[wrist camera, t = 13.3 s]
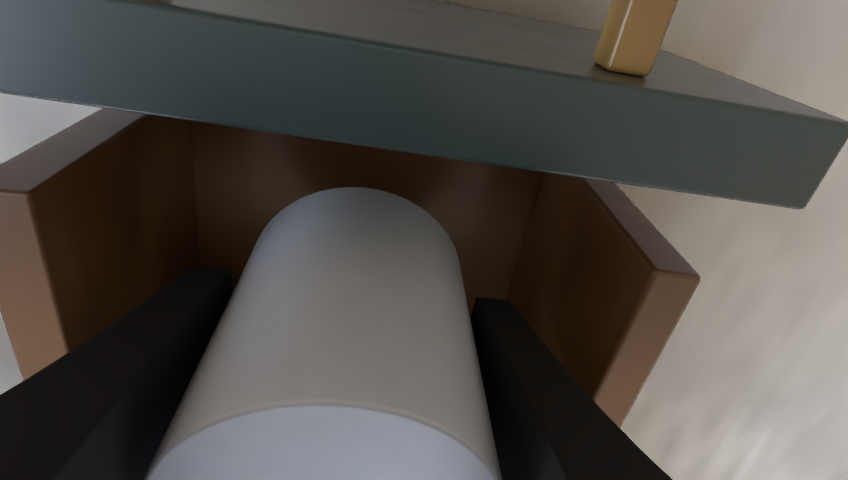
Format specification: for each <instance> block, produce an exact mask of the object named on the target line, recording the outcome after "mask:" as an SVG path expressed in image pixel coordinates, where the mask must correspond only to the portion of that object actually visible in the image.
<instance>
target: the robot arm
mask: <svg viewBox="0 0 848 480" xmlns="http://www.w3.org/2000/svg"><path fill="white" fill-rule="evenodd" d="M231 294H232V269H223V268H214V267H205V266H196V265H194V266H193V267H191V268H190V269H188V270H187V271H185V272H184V273H182V274H181V275H180V276H178V277H177V278H175V279H174V280H173V281H171V282H170V283H168V284H167V285H165V286H164V287H163V288H161V289H160V290H159V291H157V292H156V293H154V294H153V295H152V296H150V297H149V298H147V299H146V300H145V301H143V302H142V303H140V304H139V305H138V306H136V307H135V308H133V309H132V310H131V311H129V312H128V313H126V314H125V315H124V316H122V317H121V318H119V319H118V320H116V321H115V322H113V323H112V324H111V325H109V326H108V327H106V328H105V329H103V330H102V331H100V332H99V333H98V334H96V335H95V336H93V337H92V338H90V339H89V340H87V341H86V342H84V343H83V344H81V345H80V346H78V347H77V348H75V349H73V350H72V351H70V352H69V353H67V354H65V355H64V356H62V357H61V358H59V359H58V360H56V361H54V362H53V363H51V364H50V365H48V366H46V367H45V368H43V369H42V370H40V371H39V372H37V373H35V374H34V375H32V376H31V377H29V378H28V379H26V380H24V381H23V382H21V383H20V384H18V385H16V386H15V387H13V388H11V389H10V390H8V391H6V392H5V393H3V394H1V395H0V480H144V478H145V475H146V473H147V471H148V468H149V466H150V464H151V462H152V460H153V458H154V456H155V454H156V452H157V450H158V448H159V445H160V443H161V441H162V439H163V437H164V435H165V433H166V431H167V429H168V427H169V424H170V422H171V420H172V418H173V416H174V414H175V412H176V410H177V408H178V406H179V403H180V401H181V399H182V397H183V395H184V393H185V391H186V389H187V387H188V385H189V383H190V380H191V378H192V376H193V374H194V372H195V370H196V368H197V366H198V364H199V362H200V359H201V357H202V355H203V353H204V351H205V349H206V347H207V345H208V343H209V341H210V338H211V336H212V334H213V332H214V330H215V328H216V326H217V324H218V322H219V320H220V318H221V315H222V313H223V311H224V309H225V307H226V305H227V303H228V301H229V299H230V297H231ZM470 319H471V324H472V329H473V334H474V339H475V344H476V349H477V354H478V359H479V365H480V370H481V375H482V380H483V385H484V390H485V395H486V400H487V405H488V410H489V415H490V420H491V425H492V431H493V436H494V441H495V446H496V451H497V456H498V461H499V466H500V471H501V476H502V480H672V479H671V478H670V477H669V476H668V475H667V474H666V473H665V472H664V471H663V470H661V469H660V468H659V467H658V466H657V465H656V464H655V463H654V462H653V461H652V460H651V459H650V458H649V457H648V456H647V455H646V454H645V453H644V452H643V451H642V450H641V449H639V448H638V447H637V446H636V445H635V444H634V443H633V442H632V441H631V440H630V438H629V437H628V436H627V435H626V434H625V433H624V432H623V431H622V430H621V429H620V428H619V427H618V426H617V425H616V424H615V423H614V422H613V421H612V420H611V419H610V418H609V417H608V416H607V414H606V413H605V412H604V411H603V410H602V409H601V408H600V407H599V406H598V405H597V404H596V403H595V402H594V400H593V399H592V398H591V397H590V396H589V395H588V394H587V393H586V392H585V390H584V389H583V388H582V387H581V386H580V385H579V384H578V383H577V381H576V380H575V379H574V378H573V377H572V376H571V374H570V373H569V372H568V371H567V370H566V369H565V367H564V366H563V365H562V364H561V363H560V361H559V360H558V359H557V358H556V357H555V356H554V354H553V353H552V352H551V351H550V349H549V348H548V347H547V346H546V345H545V343H544V342H543V341H542V340H541V338H540V337H539V336H538V335H537V334H536V332H535V331H534V330H533V329H532V327H531V326H530V325H529V324H528V322H527V321H526V320H525V319H524V317H523V316H522V315H521V314H520V313H519V311H518V310H517V309H516V308H515V307H514V305H513V304H512V303H511V302H510V301H509V300H502V299H493V298H484V297H476V299H475V303H474V307H473V310H472V314H471V317H470Z"/></svg>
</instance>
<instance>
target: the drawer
mask: <svg viewBox="0 0 848 480" xmlns="http://www.w3.org/2000/svg"><path fill="white" fill-rule="evenodd" d="M677 2H678V0H612V2H611V5H610V9H609V12H608V15H607V18H606V21H605V24H604V27H603V30H602V32H600V31H595V30H589V29H584V28H578V27H573V26H568V25H562V24H557V23H551V22H546V21H541V20H535V19H530V18H525V17H519V16H514V15H508V14H503V13H498V12H492V11H487V10H481V9H476V8H471V7H465V6H460V5H454V4H449V3H444V2H438V1H433V0H0V93H5V94H12V95H18V96H25V97H32V98H39V99H46V100H53V101H60V102H66V103H73V104H80V105H87V106H94V107H101V108H102V109H101V110H99V111H97V112H95V113H93V114H91V115H90V116H88V117H86V118H84V119H82V120H81V121H79V122H77V123H75V124H73V125H71V126H70V127H68V128H66V129H64V130H62V131H60V132H59V133H57V134H55V135H53V136H51V137H49V138H48V139H46V140H44V141H42V142H40V143H39V144H37V145H35V146H33V147H31V148H29V149H28V150H26V151H24V152H22V153H20V154H18V155H17V156H15V157H13V158H11V159H9V160H7V161H6V162H4V163H2V164H0V310H1V313H2V317H3V320H4V323H5V326H6V329H7V332H8V335H9V338H10V341H11V345H12V348H13V351H14V354H15V357H16V360H17V363H18V366H19V370H20V373H21V376H22V379H23V381H24V380H26V379H28V378H29V377H31V376H32V375H34V374H35V373H37V372H39V371H40V370H42V369H43V368H45V367H46V366H48V365H50V364H51V363H53V362H54V361H56V360H58V359H59V358H61V357H62V356H64V355H65V354H67V353H69V352H70V351H72V350H73V349H75V348H77V347H78V346H80V345H81V344H83V343H84V342H86V341H87V340H89V339H90V338H92V337H93V336H95V335H96V334H98V333H99V332H100V331H102V330H103V329H105V328H106V327H108V326H109V325H111V324H112V323H113V322H115V321H116V320H118V319H119V318H121V317H122V316H124V315H125V314H126V313H128V312H129V311H131V310H132V309H133V308H135V307H136V306H138V305H139V304H140V303H142V302H143V301H145V300H146V299H147V298H149V297H150V296H152V295H153V294H154V293H156V292H157V291H159V290H160V289H161V288H163V287H164V286H165V285H167V284H168V283H170V282H171V281H173V280H174V279H175V278H177V277H178V276H180V275H181V274H182V273H184V272H185V271H187V270H188V269H190V268H191V267H193V266H194V265H196V266H205V267H214V268H223V269H232V292H233V290H234V288H235V286H236V284H237V282H238V280H239V278H240V276H241V274H242V271H243V269H244V267H245V265H246V263H247V261H248V259H249V257H250V255H251V253H252V250H253V248H254V246H255V244H256V242H257V240H258V238H259V236H260V235H261V233H262V231H263V229H264V228H265V227H266V226H267V224H268V223H269V222H270V221H271V219H272V218H274V217H275V216H276V215H277V214H278V213H279V212H280V211H281V210H283V209H284V208H285V207H287V206H288V205H290V204H291V203H293V202H295V201H297V200H299V199H301V198H303V197H305V196H308V195H310V194H313V193H316V192H319V191H324V190H329V189H334V188H344V187H361V188H370V189H376V190H381V191H385V192H388V193H392V194H395V195H397V196H400V197H402V198H404V199H407V200H409V201H410V202H412V203H414V204H416V205H417V206H419V207H421V208H422V209H423V210H425V211H426V212H427V213H429V214H430V215H431V216H432V217H433V218H434V219H435V220H436V221H437V222H438V223H439V224H440V225H441V226H442V227H443V229H444V230H445V231H446V233H447V234H448V235H449V237H450V239H451V241H452V243H453V244H454V247H455V249H456V252H457V255H458V258H459V263H460V268H461V273H462V278H463V283H464V288H465V294H466V299H467V304H468V309H469V314H470V317H471V314H472V310H473V307H474V303H475V299H476V297H484V298H493V299H502V300H509V301H510V302H511V303H512V304H513V305H514V307H515V308H516V309H517V310H518V311H519V313H520V314H521V315H522V316H523V317H524V319H525V320H526V321H527V322H528V324H529V325H530V326H531V327H532V329H533V330H534V331H535V332H536V334H537V335H538V336H539V337H540V338H541V340H542V341H543V342H544V343H545V345H546V346H547V347H548V348H549V349H550V351H551V352H552V353H553V354H554V356H555V357H556V358H557V359H558V360H559V361H560V363H561V364H562V365H563V366H564V367H565V369H566V370H567V371H568V372H569V373H570V374H571V376H572V377H573V378H574V379H575V380H576V381H577V383H578V384H579V385H580V386H581V387H582V388H583V389H584V390H585V392H586V393H587V394H588V395H589V396H590V397H591V398H592V399H593V400H594V402H595V403H596V404H597V405H598V406H599V407H600V408H601V409H602V410H603V411H604V412H605V413H606V414H607V416H608V417H609V418H610V419H611V420H612V421H613V422H614V423H615V424H616V425H617V426H618V427H619V428H620V427H621V425H622V424H623V422H624V420H625V418H626V416H627V414H628V413H629V411H630V409H631V407H632V405H633V403H634V402H635V400H636V398H637V396H638V394H639V392H640V391H641V389H642V387H643V385H644V383H645V381H646V380H647V378H648V376H649V374H650V372H651V370H652V368H653V367H654V365H655V363H656V361H657V359H658V357H659V356H660V354H661V352H662V350H663V348H664V346H665V345H666V343H667V341H668V339H669V337H670V335H671V334H672V332H673V330H674V328H675V326H676V324H677V323H678V321H679V319H680V317H681V315H682V313H683V311H684V310H685V308H686V306H687V304H688V302H689V300H690V299H691V297H692V295H693V293H694V291H695V289H696V288H697V286H698V284H699V282H700V275H699V274H698V273H697V272H696V271H695V270H694V269H693V268H692V267H691V266H690V264H689V263H688V262H687V261H686V260H685V259H684V258H683V257H682V256H681V255H680V254H679V252H678V251H677V250H676V249H675V248H674V247H673V246H672V245H671V244H670V243H669V242H668V241H667V239H666V238H665V237H664V236H663V235H662V234H661V233H660V232H659V231H658V230H657V229H656V227H655V226H654V225H653V224H652V223H651V222H650V221H649V220H648V219H647V218H646V217H645V216H644V214H643V213H642V212H641V211H640V210H639V209H638V208H637V207H636V206H635V205H634V204H633V202H632V201H631V200H630V199H629V198H628V197H627V196H626V195H625V194H624V193H623V192H622V191H621V189H620V188H619V187H618V186H617V185H616V184H615V183H622V184H629V185H635V186H642V187H649V188H656V189H663V190H670V191H677V192H683V193H690V194H697V195H704V196H711V197H718V198H725V199H731V200H738V201H745V202H752V203H759V204H766V205H773V206H779V207H786V208H793V209H803V208H804V207H806V205H807V203H808V202H809V200H810V199H811V197H812V195H813V194H814V192H815V190H816V189H817V187H818V186H819V184H820V182H821V181H822V179H823V178H824V176H825V174H826V173H827V171H828V169H829V168H830V166H831V165H832V163H833V161H834V160H835V158H836V156H837V155H838V153H839V152H840V150H841V148H842V147H843V145H844V143H845V142H846V140H847V139H848V121H846V120H843V119H840V118H838V117H835V116H833V115H830V114H827V113H825V112H822V111H820V110H817V109H815V108H812V107H809V106H807V105H804V104H802V103H799V102H796V101H794V100H791V99H789V98H786V97H784V96H781V95H778V94H776V93H773V92H771V91H768V90H765V89H763V88H760V87H758V86H755V85H753V84H750V83H747V82H745V81H742V80H740V79H737V78H734V77H732V76H729V75H727V74H724V73H722V72H719V71H716V70H714V69H711V68H709V67H706V66H703V65H701V64H698V63H696V62H693V61H691V60H688V59H685V58H683V57H680V56H678V55H675V54H672V53H670V52H667V51H665V50H662V49H660V46H661V43H662V41H663V38H664V36H665V33H666V30H667V28H668V25H669V23H670V20H671V17H672V15H673V12H674V10H675V7H676V4H677ZM614 182H615V183H614Z"/></svg>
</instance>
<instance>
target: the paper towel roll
mask: <svg viewBox="0 0 848 480" xmlns="http://www.w3.org/2000/svg"><path fill="white" fill-rule="evenodd" d="M144 480H502V476H501V471H500V466H499V461H498V456H497V451H496V446H495V441H494V436H493V431H492V425H491V420H490V415H489V410H488V405H487V400H486V395H485V390H484V385H483V380H482V375H481V370H480V365H479V359H478V354H477V349H476V344H475V339H474V334H473V329H472V324H471V319H470V314H469V309H468V304H467V299H466V294H465V288H464V283H463V278H462V273H461V268H460V263H459V258H458V255H457V252H456V249H455V247H454V244H453V243H452V241H451V239H450V237H449V235H448V234H447V233H446V231H445V230H444V229H443V227H442V226H441V225H440V224H439V223H438V222H437V221H436V220H435V219H434V218H433V217H432V216H431V215H430V214H429V213H427V212H426V211H425V210H423V209H422V208H421V207H419V206H417V205H416V204H414V203H412V202H410V201H409V200H407V199H404V198H402V197H400V196H397V195H395V194H392V193H388V192H385V191H381V190H376V189H370V188H361V187H344V188H334V189H329V190H324V191H319V192H316V193H313V194H310V195H308V196H305V197H303V198H301V199H299V200H297V201H295V202H293V203H291V204H290V205H288V206H287V207H285V208H284V209H283V210H281V211H280V212H279V213H278V214H277V215H276V216H275V217H274V218H272V219H271V221H270V222H269V223H268V224H267V226H266V227H265V228H264V229H263V231H262V233H261V235H260V236H259V238H258V240H257V242H256V244H255V246H254V248H253V250H252V253H251V255H250V257H249V259H248V261H247V263H246V265H245V267H244V269H243V271H242V274H241V276H240V278H239V280H238V282H237V284H236V286H235V288H234V290H233V292H232V294H231V297H230V299H229V301H228V303H227V305H226V307H225V309H224V311H223V313H222V315H221V318H220V320H219V322H218V324H217V326H216V328H215V330H214V332H213V334H212V336H211V338H210V341H209V343H208V345H207V347H206V349H205V351H204V353H203V355H202V357H201V359H200V362H199V364H198V366H197V368H196V370H195V372H194V374H193V376H192V378H191V380H190V383H189V385H188V387H187V389H186V391H185V393H184V395H183V397H182V399H181V401H180V403H179V406H178V408H177V410H176V412H175V414H174V416H173V418H172V420H171V422H170V424H169V427H168V429H167V431H166V433H165V435H164V437H163V439H162V441H161V443H160V445H159V448H158V450H157V452H156V454H155V456H154V458H153V460H152V462H151V464H150V466H149V468H148V471H147V473H146V475H145V478H144Z"/></svg>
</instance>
